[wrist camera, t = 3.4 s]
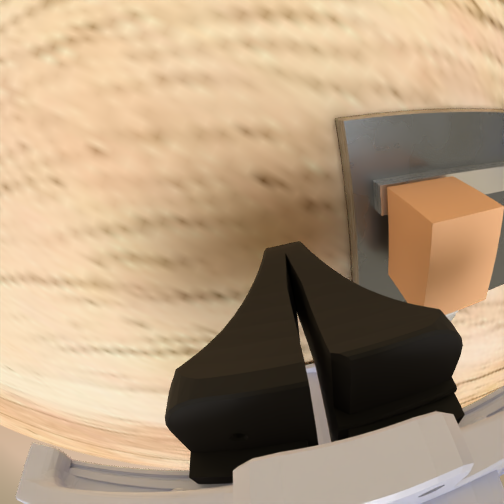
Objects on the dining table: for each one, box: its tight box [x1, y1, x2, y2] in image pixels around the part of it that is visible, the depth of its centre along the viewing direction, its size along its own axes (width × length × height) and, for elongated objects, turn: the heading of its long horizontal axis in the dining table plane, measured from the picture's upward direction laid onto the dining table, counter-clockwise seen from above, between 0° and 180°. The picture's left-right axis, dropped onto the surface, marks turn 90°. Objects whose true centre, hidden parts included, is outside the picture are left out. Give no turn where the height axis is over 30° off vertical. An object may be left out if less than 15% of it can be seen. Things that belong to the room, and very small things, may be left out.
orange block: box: [387, 176, 504, 321], centre depth 11 cm, size 6×4×4 cm, turn 13°
